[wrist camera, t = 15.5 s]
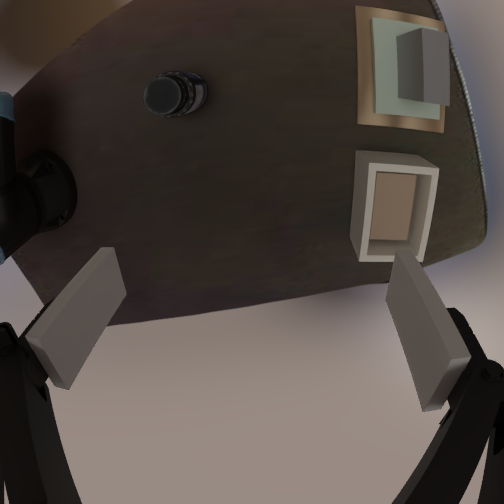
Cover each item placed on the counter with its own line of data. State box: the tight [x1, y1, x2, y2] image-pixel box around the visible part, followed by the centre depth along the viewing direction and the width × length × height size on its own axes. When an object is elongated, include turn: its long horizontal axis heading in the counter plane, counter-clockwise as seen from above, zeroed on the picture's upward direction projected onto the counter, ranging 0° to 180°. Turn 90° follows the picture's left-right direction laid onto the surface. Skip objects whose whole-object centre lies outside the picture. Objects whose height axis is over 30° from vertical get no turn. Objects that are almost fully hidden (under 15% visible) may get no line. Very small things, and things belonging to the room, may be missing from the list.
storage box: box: [350, 150, 439, 262], centre depth 43 cm, size 10×14×8 cm
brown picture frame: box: [354, 5, 445, 133], centre depth 37 cm, size 14×18×1 cm
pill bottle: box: [143, 71, 208, 118], centre depth 37 cm, size 6×6×11 cm
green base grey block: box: [371, 17, 450, 120], centre depth 32 cm, size 10×14×11 cm
